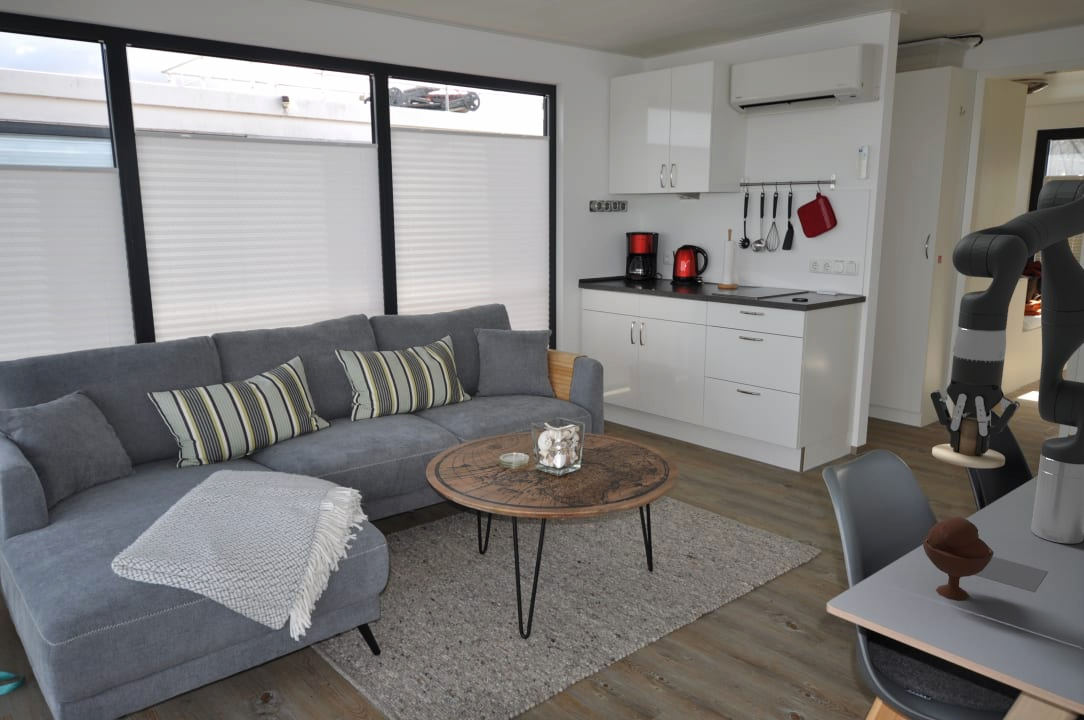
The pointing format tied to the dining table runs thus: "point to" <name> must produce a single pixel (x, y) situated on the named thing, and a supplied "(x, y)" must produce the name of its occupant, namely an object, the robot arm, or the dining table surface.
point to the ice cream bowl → (956, 553)
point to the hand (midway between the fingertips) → (968, 452)
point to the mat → (1013, 574)
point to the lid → (968, 449)
